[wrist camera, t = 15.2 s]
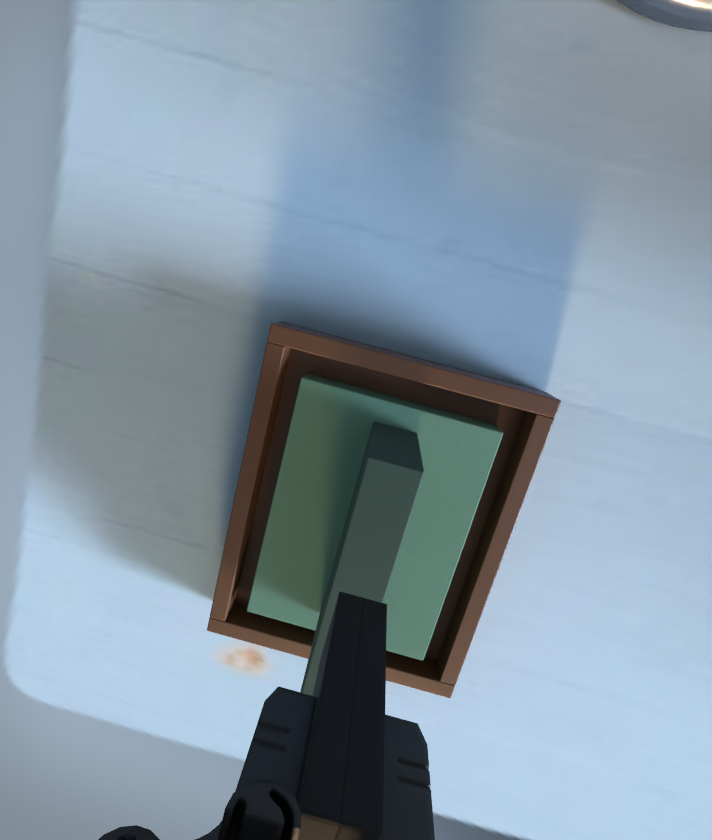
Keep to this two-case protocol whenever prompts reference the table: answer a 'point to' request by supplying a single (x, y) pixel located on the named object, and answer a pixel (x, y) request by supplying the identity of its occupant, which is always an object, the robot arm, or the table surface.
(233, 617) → the back frame
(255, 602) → the back pad
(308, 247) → the table surface
